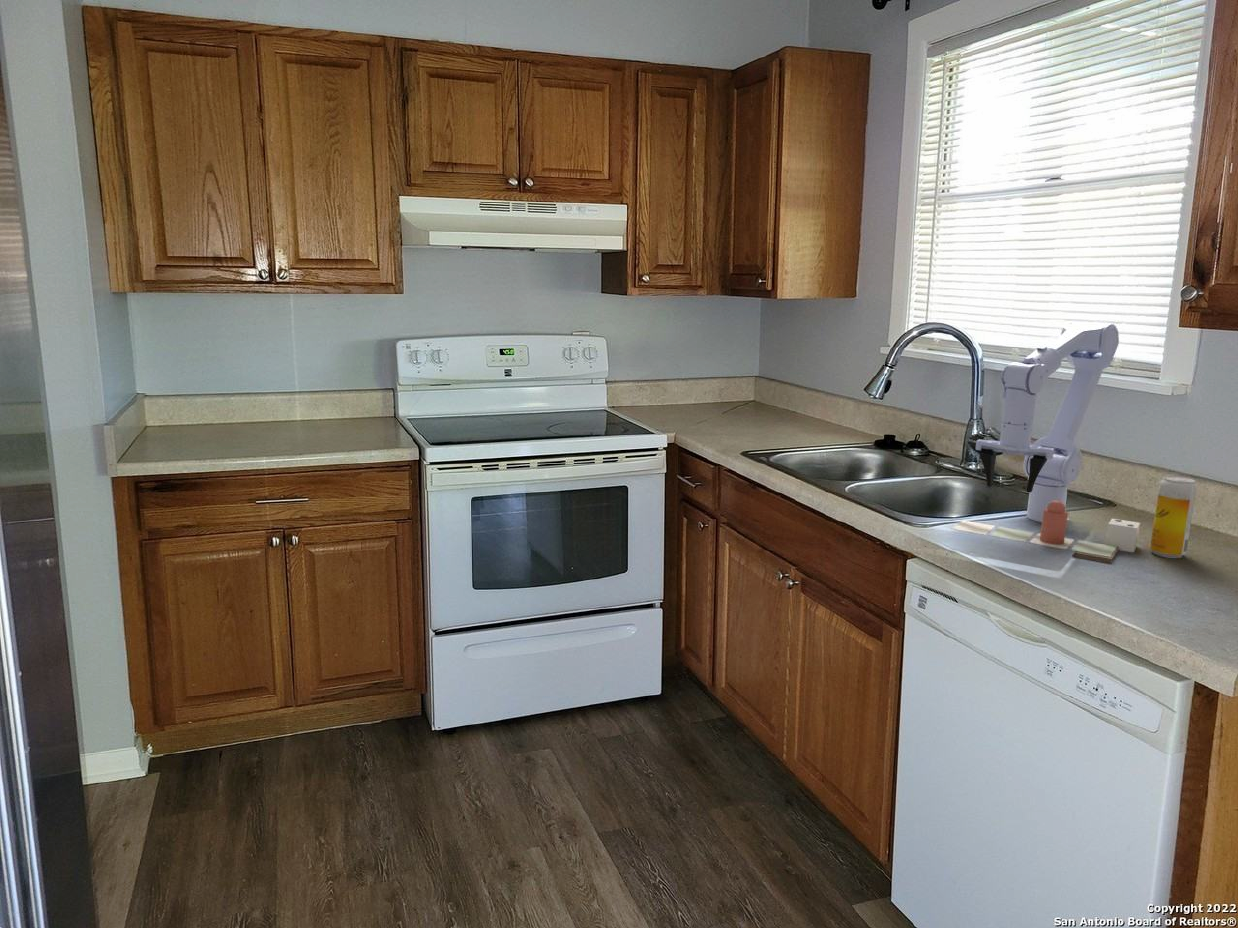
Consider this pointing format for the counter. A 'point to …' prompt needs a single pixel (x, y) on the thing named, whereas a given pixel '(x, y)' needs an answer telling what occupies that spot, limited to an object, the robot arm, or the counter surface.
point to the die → (1123, 534)
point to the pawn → (1054, 523)
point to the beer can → (1173, 516)
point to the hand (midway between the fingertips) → (1009, 488)
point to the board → (1081, 547)
